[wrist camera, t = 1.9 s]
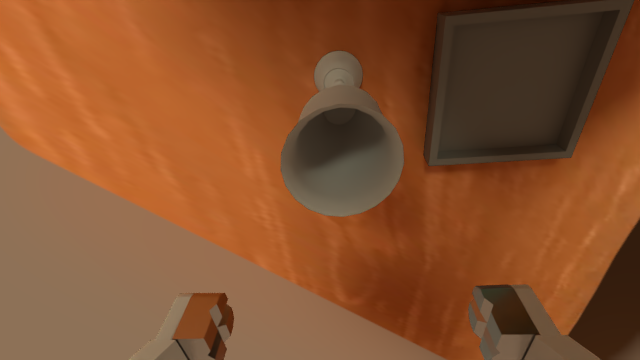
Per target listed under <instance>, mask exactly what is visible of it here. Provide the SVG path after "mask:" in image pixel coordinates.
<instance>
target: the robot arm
mask: <svg viewBox="0 0 640 360" xmlns="http://www.w3.org/2000/svg"><path fill="white" fill-rule="evenodd" d="M472 294H473V296H474V299H473V300H472V301H471V302H470V304H469V309H468V310H469V319H470V323H471V326H472V329H473V332H474V333H475V334H476V335H477V336H478V337H479V338H481V339H482V340H481V343H480V346H479V347H480V350H481V352H482V355H483V357H484V360H601V359H599V358H598V357H596V356H595V355H594V354H592V353H591V352H590V351H588V350H587V349H585V348H584V347H583V346H581V345H580V344H578V343H577V342H576V341H574V340H573V339H572V338H570V337H569V336H567V335H561V334H560V332H559V331H558V329H557V328H556V326H555V324H554V323H553V321H552V320H551V318H550V317H549V315H548V313H547V312H546V310H545V309H544V307H543V306H542V304H541V303H540V301H539V299H538V298H537V296H536V295H535V293H534V292H533V290H532V288H531V287H530V286H528V285H525V284H523V285H486V286H475V287H474V289H473V292H472ZM227 300H228V298H227V296H226V294H225V293H181V294H179V295H178V296H177V297H176V299H175V301H174V303H173V305H172V307H171V309H170V311H169V313H168V315H167V317H166V319H165V321H164V323H163V325H162V327H161V329H160V331H159V333H158V335H157V337H156V339H155V340H150V341H149V342H148V343H147V344H146V345H144V346H143V347H142V348H141V349H140V350H139V351H138V352H136V353H135V354H134V355H133V356H132V357H131V358H129V359H128V360H224V357H225V353H226V350H227V348H226V346H225V344H224V342H225V341H226V340H227V339H228V338H229V337H230V336H231V333H232V329H233V322H234V316H233V311H232V308H231V307H230V306H229V305H227Z"/></svg>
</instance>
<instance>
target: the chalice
mask: <svg viewBox="0 0 640 360" xmlns="http://www.w3.org/2000/svg"><path fill="white" fill-rule="evenodd" d="M362 78H363V72H362V67H361V65H360V63H359V61H358V60H357V59H356V58H355V57H354V56H353V55H352V54H350V53H348V52H346V51H334V52H330V53H328V54H326V55H325V56H323V57H322V58H321V60H320V61H319V62H318V63H317V66H316V68H315V72H314V80H315V84H316V87H317V89H318V90H319V93H317V94H315V95H314V96H312V98H311V99H310V100H309V101H308V103H307V104H306V105H305V106H304V108H303V110H302V113H301V115H300V118H299V121H298V124H297V125H296V126H295V127H294V129H293V130H292V131H291V132H290V134H289V135H288V137H287V139H286V142H285V144H284V147H283V150H282V152H281V172H282V175H283V179H284V182H285V185H286V187H287V188H288V190H289V191H290V193H291V194H292V195H293V197H294V198H295V199H296V200H297V201H298V202H300V203H301V204H302V205H304V206H305V207H306V208H308V209H309V210H312V211H315V212H317V213H320V214H323V215H327V216H340V217H344V216H349V215H355V214H360V213H362V212H364V211H366V210H369V209H371V208H373V207H375V206H377V205H378V204H379V203H380V202H381V201H383V200H384V199H385V198H386V197H387V196H388V195H390V193H391V192H392V190H393V189H394V187H395V186H396V184H397V182H398V181H399V179H400V175H401V172H402V168H403V165H404V153H403V144H402V142H401V139H400V137H399V135H398V132H397V130H396V128H395V127H394V126H393V125H392V124H391V123H390V122H389V121H388V120H387V119H386V118H385V117H384V116H383V115H382V113H381V110H380V108H379V106H378V104H377V102H376V101H375V100H374V99H373V98H372V97H371V96H370V95H369V94H368V93H367V92H366V91H364V90H361V89H359V87H360V85H361V83H362Z"/></svg>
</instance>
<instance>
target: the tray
mask: <svg viewBox="0 0 640 360" xmlns="http://www.w3.org/2000/svg"><path fill="white" fill-rule="evenodd" d="M633 2H634V0H564V1H554V2H544V3H534V4H524V5H514V6H504V7H494V8H484V9H474V10H464V11H454V12H444V13H438V17H437V27H436V37H435V46H434V56H433V66H432V76H431V86H430V96H429V106H428V116H427V126H426V135H425V145H424V157H425V159H426V161H427V163H428V165H429V166H438V165H455V164H472V163H489V162H506V161H523V160H540V159H557V158H571V157H572V154H573V152H574V149H575V147H576V144H577V142H578V139H579V137H580V134H581V132H582V129H583V127H584V124H585V122H586V119H587V117H588V114H589V112H590V109H591V107H592V104H593V102H594V99H595V97H596V94H597V92H598V89H599V87H600V84H601V82H602V79H603V77H604V74H605V72H606V69H607V67H608V64H609V62H610V59H611V57H612V54H613V52H614V49H615V47H616V44H617V42H618V39H619V37H620V34H621V32H622V29H623V27H624V24H625V22H626V20H627V17H628V15H629V12H630V10H631V7H632V5H633Z"/></svg>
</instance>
